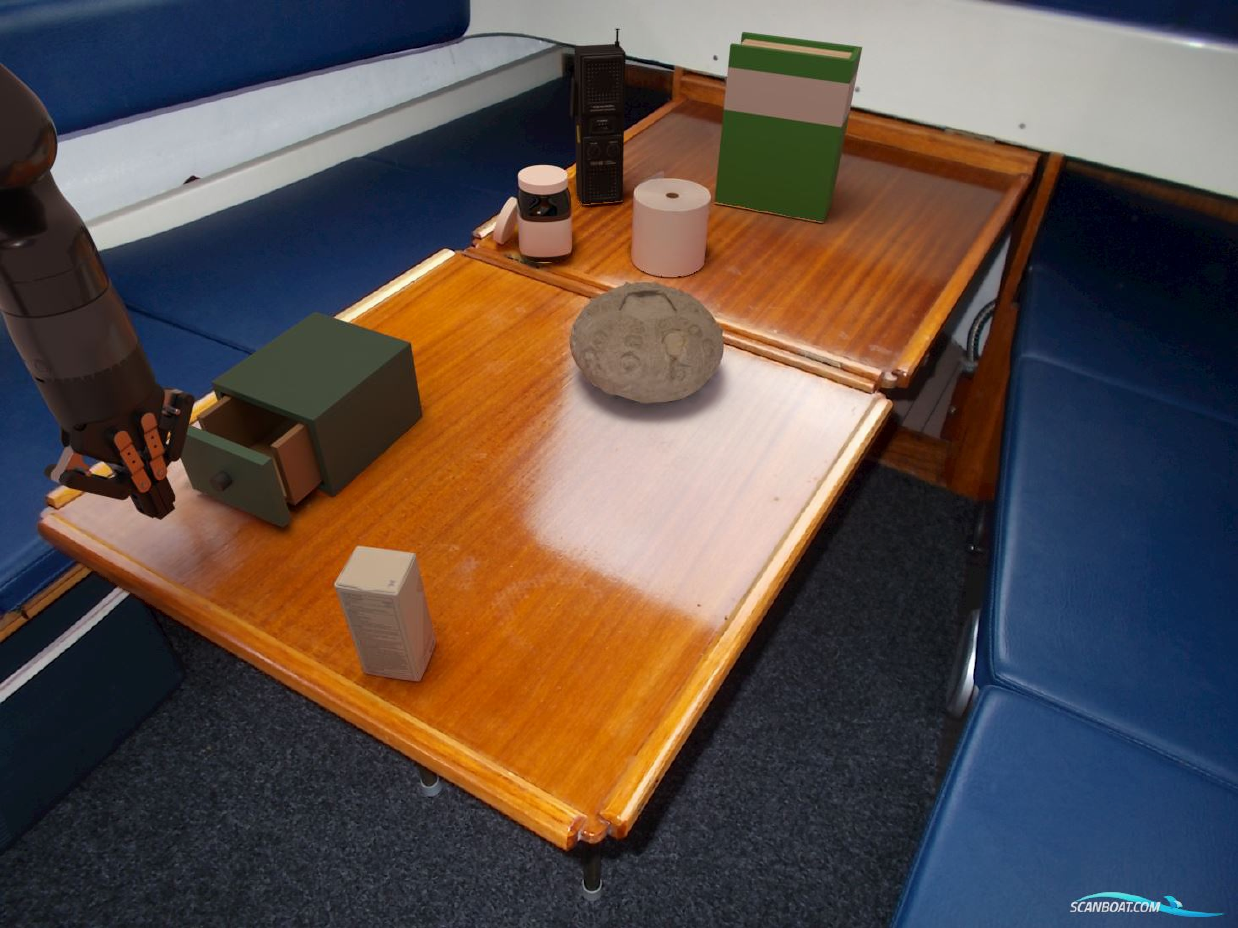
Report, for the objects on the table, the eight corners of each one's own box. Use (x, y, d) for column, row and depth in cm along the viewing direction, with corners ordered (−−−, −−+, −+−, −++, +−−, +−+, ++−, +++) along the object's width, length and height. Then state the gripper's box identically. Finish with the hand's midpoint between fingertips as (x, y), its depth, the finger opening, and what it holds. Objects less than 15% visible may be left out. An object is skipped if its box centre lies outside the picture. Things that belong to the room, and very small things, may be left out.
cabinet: (334, 497, 86) (313, 420, 79) (237, 457, 90) (210, 381, 84) (423, 416, 96) (411, 342, 89) (332, 384, 100) (314, 311, 94)
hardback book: (714, 204, 139) (730, 45, 123) (726, 187, 144) (743, 31, 128) (822, 224, 134) (854, 61, 119) (831, 205, 140) (862, 47, 124)
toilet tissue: (666, 286, 119) (670, 218, 112) (609, 253, 125) (610, 187, 119) (719, 263, 124) (727, 196, 118) (663, 233, 131) (666, 168, 124)
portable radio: (576, 209, 136) (574, 39, 120) (568, 193, 141) (565, 27, 124) (624, 204, 138) (629, 36, 121) (615, 189, 142) (618, 25, 126)
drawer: (274, 536, 80) (252, 473, 75) (183, 496, 84) (156, 433, 79) (375, 446, 90) (361, 385, 85) (289, 414, 94) (272, 353, 89)
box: (438, 641, 73) (420, 552, 66) (419, 684, 70) (400, 595, 62) (379, 632, 74) (355, 542, 66) (358, 673, 70) (331, 584, 63)
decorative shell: (750, 379, 103) (761, 306, 96) (646, 444, 93) (650, 368, 87) (643, 320, 112) (646, 250, 105) (539, 374, 103) (535, 300, 96)
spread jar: (575, 268, 122) (574, 189, 114) (495, 272, 121) (489, 192, 113) (567, 229, 131) (566, 154, 123) (492, 232, 130) (486, 156, 122)
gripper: (120, 291, 69) (188, 454, 80) (-39, 378, 60) (64, 547, 72) (188, 315, 67) (249, 479, 78) (34, 409, 58) (128, 578, 69)
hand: (160, 512), depth 75 cm, fingers closed
